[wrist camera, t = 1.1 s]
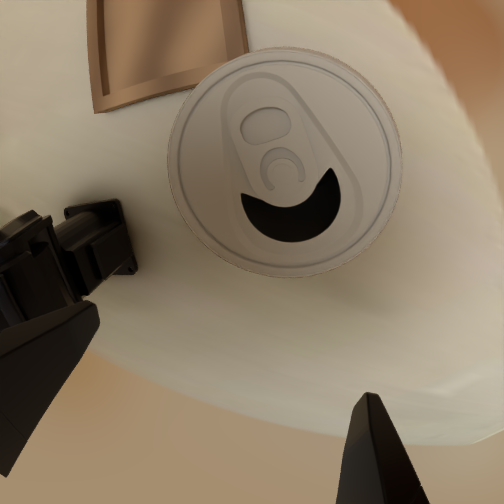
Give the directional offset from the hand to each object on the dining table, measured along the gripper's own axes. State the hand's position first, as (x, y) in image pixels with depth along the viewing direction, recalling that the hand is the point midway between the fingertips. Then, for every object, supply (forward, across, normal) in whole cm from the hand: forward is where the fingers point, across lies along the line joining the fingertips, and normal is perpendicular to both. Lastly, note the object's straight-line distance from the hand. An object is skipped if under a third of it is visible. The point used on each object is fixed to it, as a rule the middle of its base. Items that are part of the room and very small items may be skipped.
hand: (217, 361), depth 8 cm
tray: (+12, +10, -12) cm, 20 cm away
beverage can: (+13, 0, -5) cm, 14 cm away
